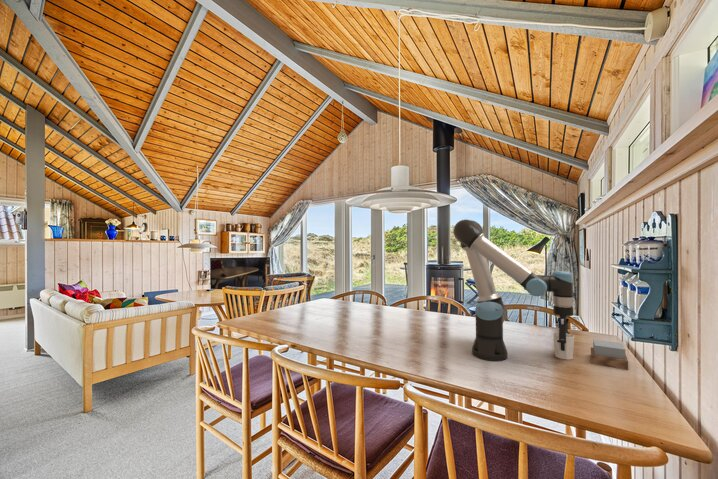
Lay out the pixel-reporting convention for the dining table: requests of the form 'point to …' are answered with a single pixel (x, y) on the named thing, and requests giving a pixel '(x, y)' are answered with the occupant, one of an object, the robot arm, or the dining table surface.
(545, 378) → the dining table surface
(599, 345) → the slate top block
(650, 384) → the dining table surface
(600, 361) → the walnut base block
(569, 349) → the white cup
